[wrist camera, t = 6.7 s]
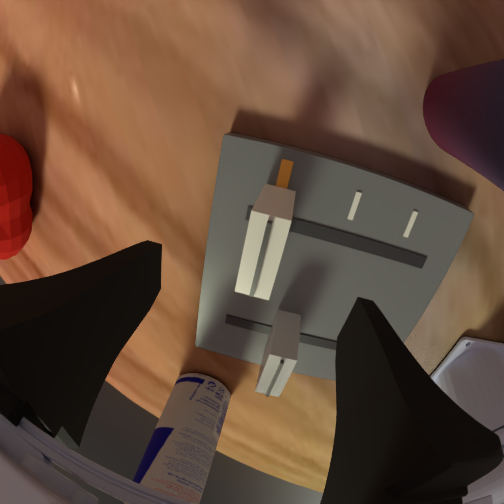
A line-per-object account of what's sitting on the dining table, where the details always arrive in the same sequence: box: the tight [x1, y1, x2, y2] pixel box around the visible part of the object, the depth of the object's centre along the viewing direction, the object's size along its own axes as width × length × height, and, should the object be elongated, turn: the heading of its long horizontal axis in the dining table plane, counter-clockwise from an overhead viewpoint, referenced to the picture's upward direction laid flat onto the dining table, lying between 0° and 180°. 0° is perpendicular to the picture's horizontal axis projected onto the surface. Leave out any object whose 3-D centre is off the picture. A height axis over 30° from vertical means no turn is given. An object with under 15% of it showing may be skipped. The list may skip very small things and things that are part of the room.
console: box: [195, 132, 474, 397], centre depth 17 cm, size 15×16×6 cm
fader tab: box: [235, 184, 296, 300], centre depth 14 cm, size 2×4×4 cm, turn 169°
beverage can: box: [124, 373, 231, 504], centre depth 21 cm, size 6×6×15 cm
